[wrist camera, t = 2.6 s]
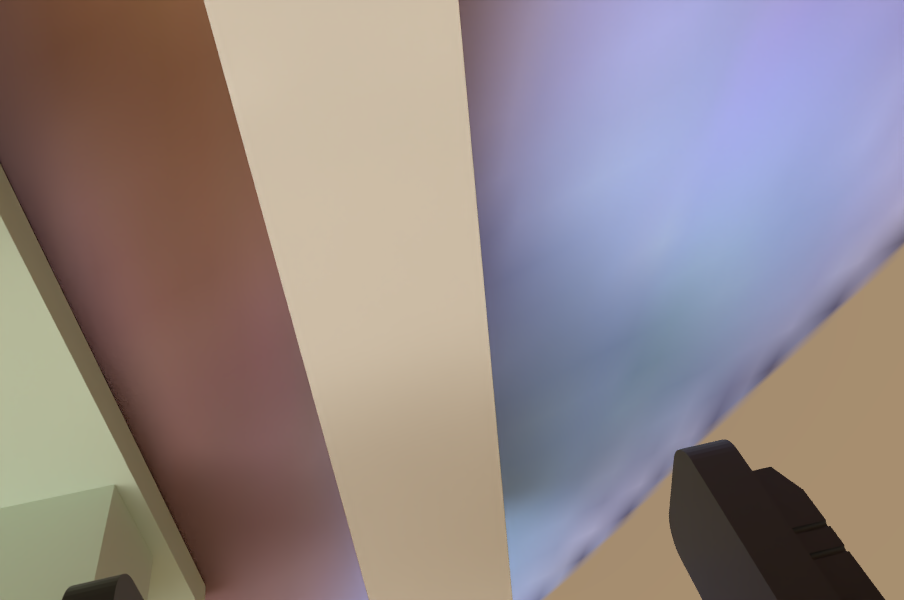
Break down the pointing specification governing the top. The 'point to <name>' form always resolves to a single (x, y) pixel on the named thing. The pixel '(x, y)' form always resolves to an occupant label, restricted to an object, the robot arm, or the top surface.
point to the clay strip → (380, 272)
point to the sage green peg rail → (69, 449)
